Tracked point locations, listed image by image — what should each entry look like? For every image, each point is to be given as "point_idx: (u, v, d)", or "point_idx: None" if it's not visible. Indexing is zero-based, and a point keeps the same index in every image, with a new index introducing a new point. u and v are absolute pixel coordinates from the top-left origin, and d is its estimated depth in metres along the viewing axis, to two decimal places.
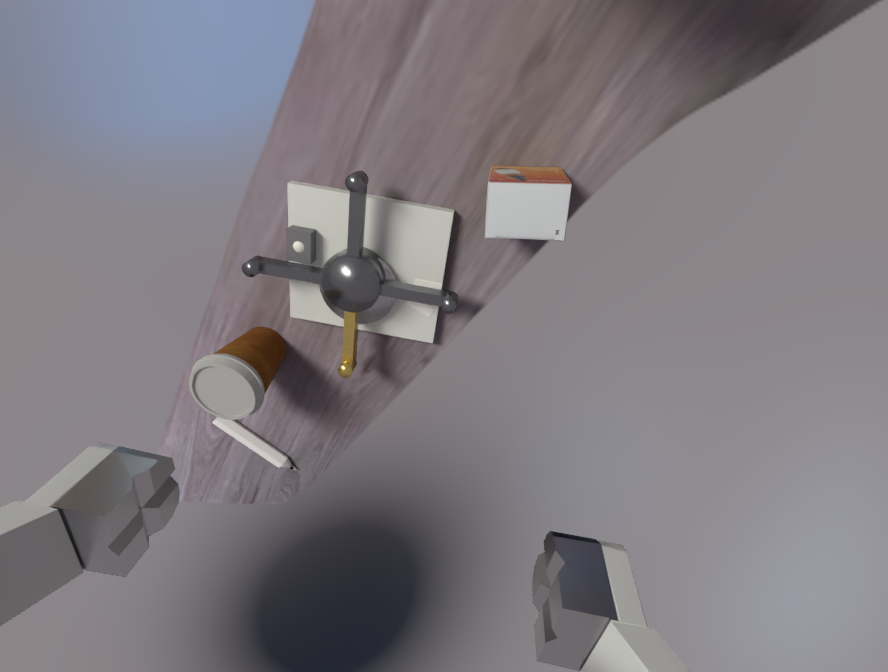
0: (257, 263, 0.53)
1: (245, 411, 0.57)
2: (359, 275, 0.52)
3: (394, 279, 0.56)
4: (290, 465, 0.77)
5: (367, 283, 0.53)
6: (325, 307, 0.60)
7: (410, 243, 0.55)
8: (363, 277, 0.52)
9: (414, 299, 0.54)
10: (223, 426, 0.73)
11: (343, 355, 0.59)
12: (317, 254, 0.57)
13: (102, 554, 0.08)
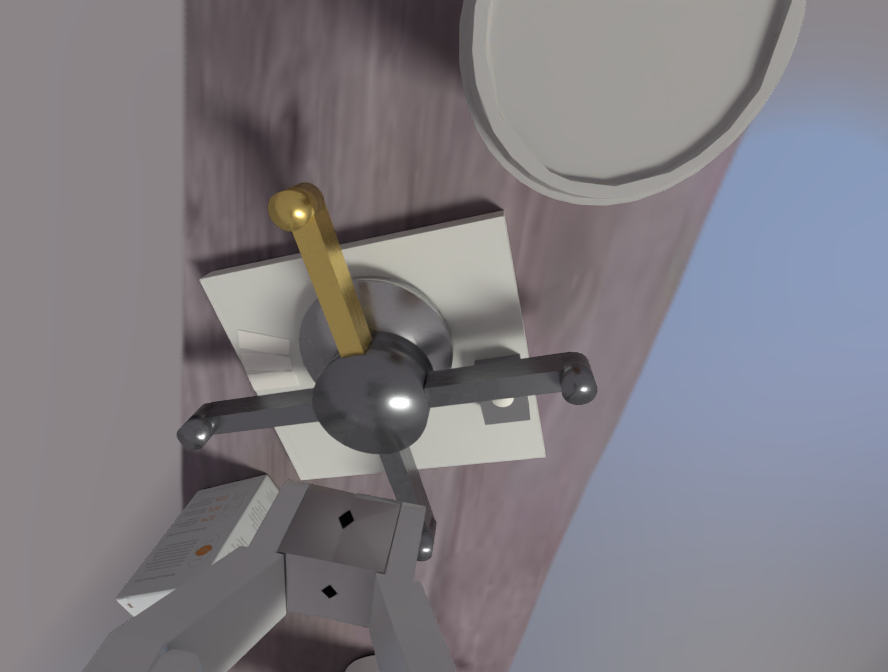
0: None
1: None
2: (362, 431, 0.27)
3: None
4: None
5: (342, 423, 0.27)
6: (429, 271, 0.27)
7: None
8: (353, 430, 0.27)
9: (255, 415, 0.28)
10: None
11: (319, 240, 0.22)
12: None
13: (312, 596, 0.08)
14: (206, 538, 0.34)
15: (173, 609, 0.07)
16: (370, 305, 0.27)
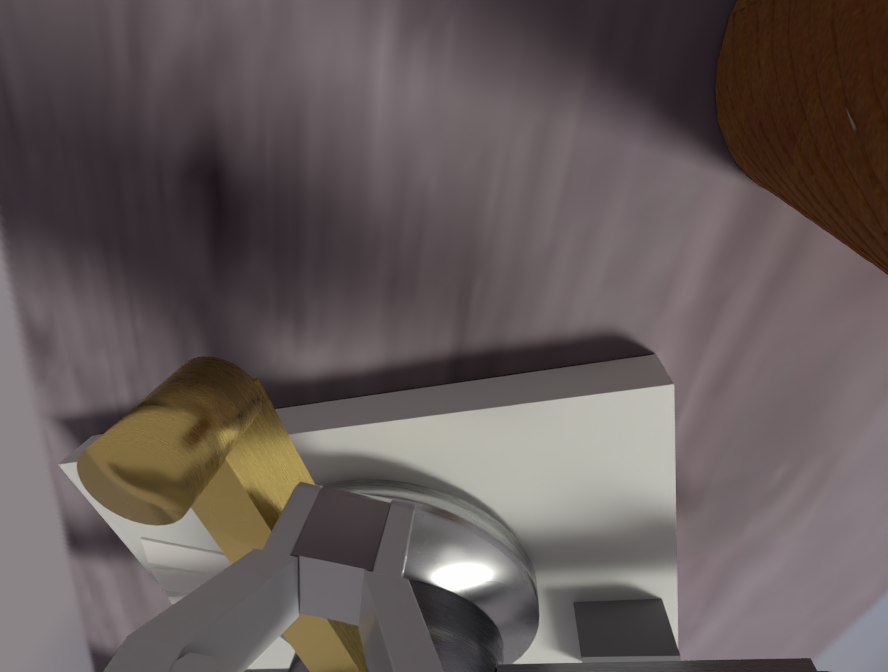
0: None
1: None
2: None
3: None
4: None
5: None
6: (500, 471, 0.13)
7: None
8: None
9: None
10: None
11: (248, 506, 0.09)
12: (570, 615, 0.17)
13: (325, 599, 0.08)
14: None
15: (189, 613, 0.07)
16: None
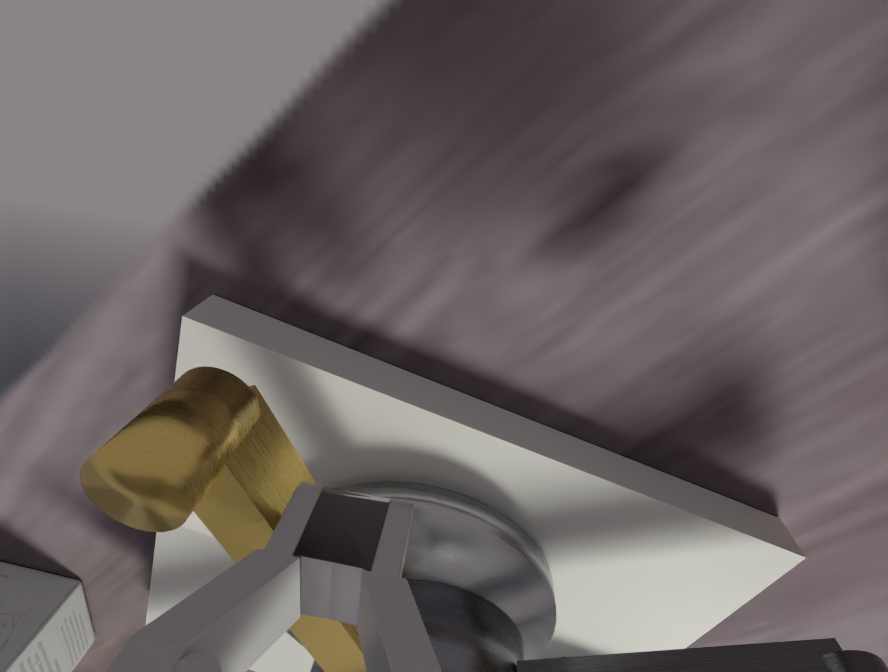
0: None
1: None
2: None
3: None
4: None
5: None
6: (624, 549, 0.15)
7: None
8: None
9: None
10: None
11: (251, 510, 0.09)
12: None
13: (327, 599, 0.08)
14: None
15: (191, 613, 0.07)
16: None
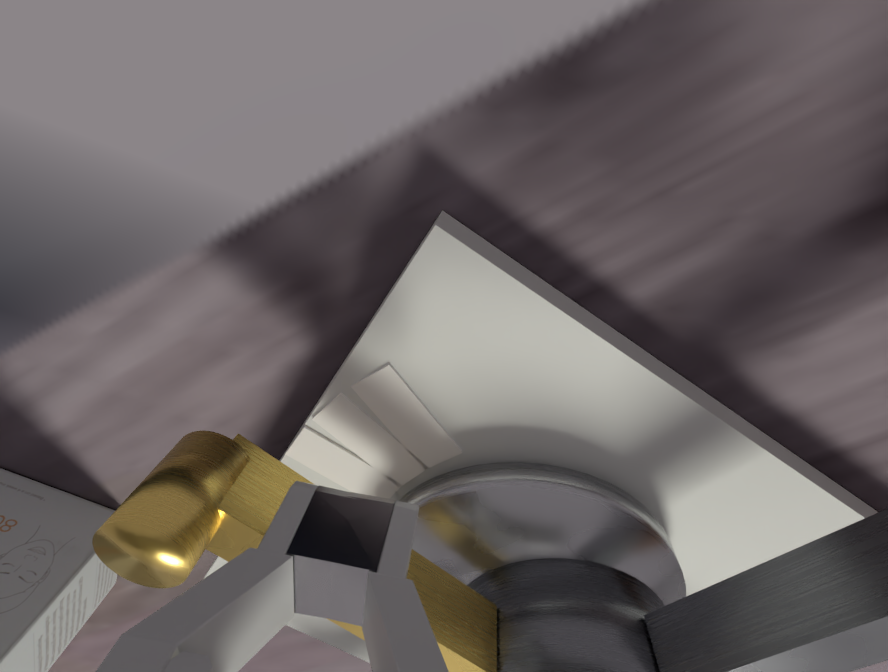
0: None
1: None
2: None
3: None
4: None
5: None
6: None
7: None
8: None
9: None
10: None
11: None
12: None
13: (321, 598, 0.08)
14: None
15: (184, 611, 0.07)
16: (458, 536, 0.13)
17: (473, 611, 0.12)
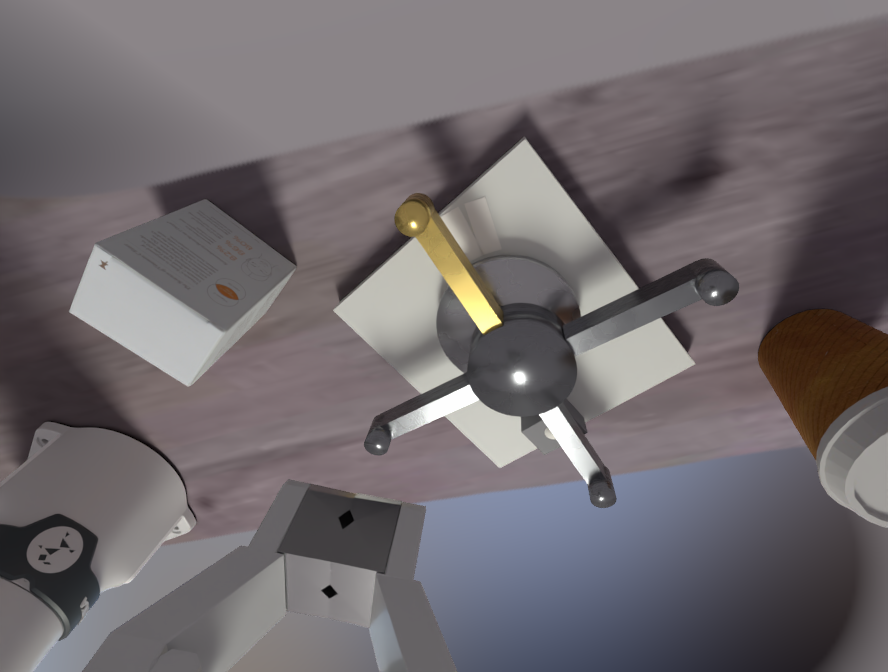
0: None
1: None
2: (519, 396, 0.30)
3: None
4: None
5: (499, 394, 0.30)
6: (628, 335, 0.32)
7: (417, 318, 0.33)
8: (511, 398, 0.30)
9: (422, 411, 0.32)
10: None
11: (440, 236, 0.25)
12: None
13: (312, 596, 0.08)
14: (228, 279, 0.28)
15: (173, 609, 0.07)
16: (491, 284, 0.30)
17: (496, 305, 0.29)
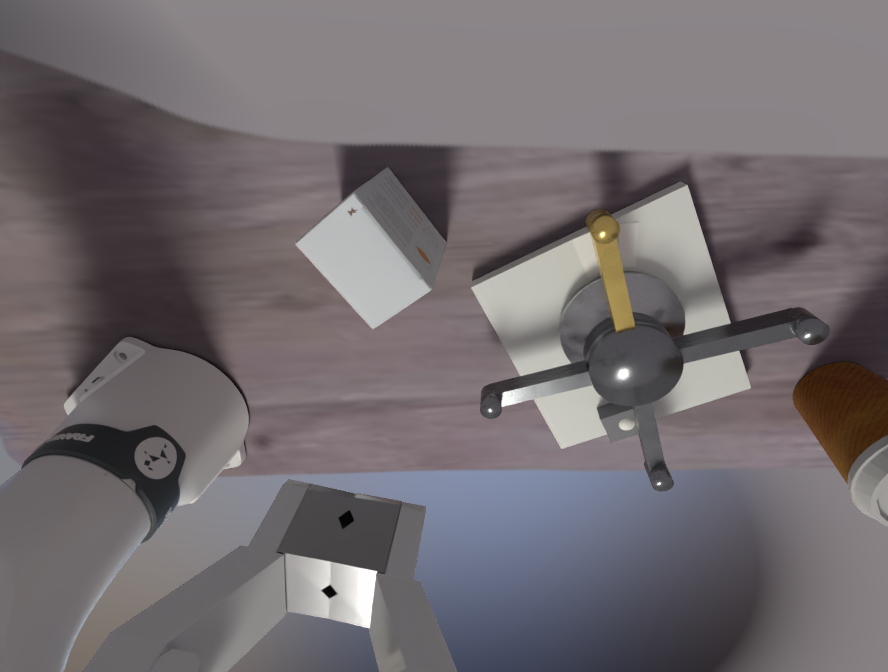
0: None
1: None
2: (626, 388, 0.36)
3: (572, 362, 0.40)
4: None
5: (611, 384, 0.36)
6: None
7: (542, 308, 0.39)
8: (619, 389, 0.36)
9: (537, 387, 0.38)
10: None
11: (616, 248, 0.31)
12: None
13: (312, 596, 0.08)
14: (420, 244, 0.32)
15: (173, 609, 0.07)
16: None
17: None
